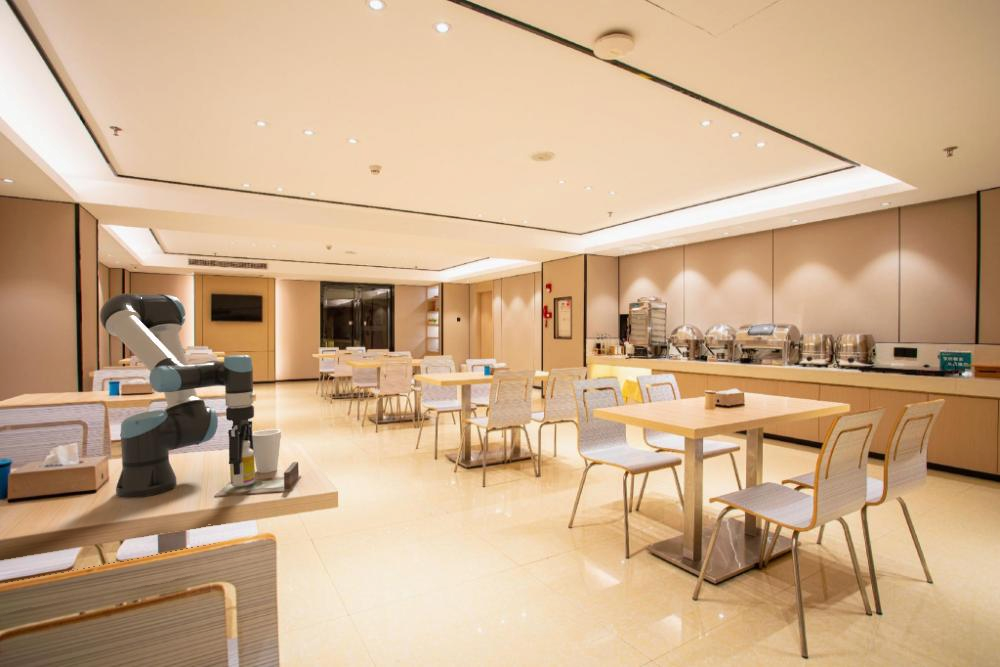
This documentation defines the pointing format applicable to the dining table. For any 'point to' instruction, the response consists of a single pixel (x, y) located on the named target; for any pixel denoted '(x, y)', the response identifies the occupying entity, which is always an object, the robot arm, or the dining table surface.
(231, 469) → the supplement bottle
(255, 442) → the foam cup
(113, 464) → the dining table surface
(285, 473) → the keyhole board
